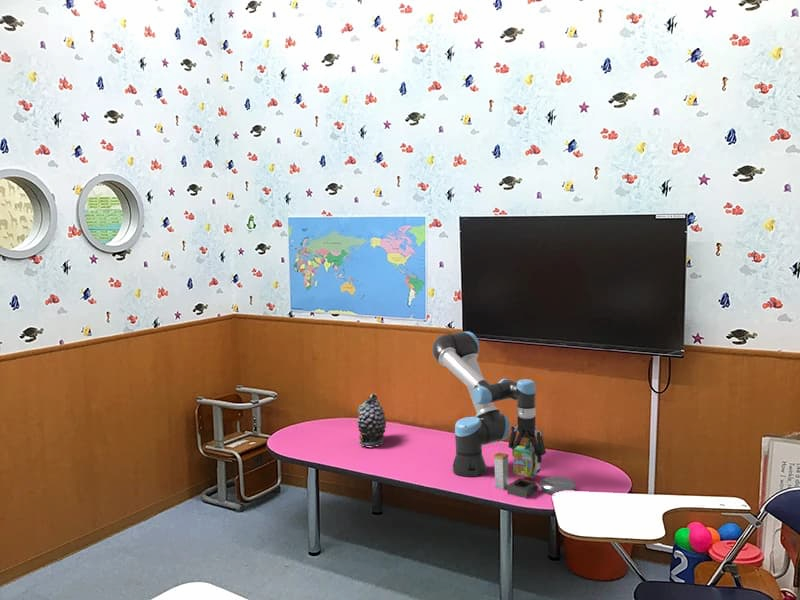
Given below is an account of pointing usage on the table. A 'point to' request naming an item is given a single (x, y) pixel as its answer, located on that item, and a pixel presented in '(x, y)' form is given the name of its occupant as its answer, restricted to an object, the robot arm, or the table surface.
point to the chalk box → (525, 460)
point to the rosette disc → (556, 484)
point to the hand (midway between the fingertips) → (526, 466)
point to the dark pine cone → (371, 422)
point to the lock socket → (522, 488)
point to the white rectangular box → (501, 470)
